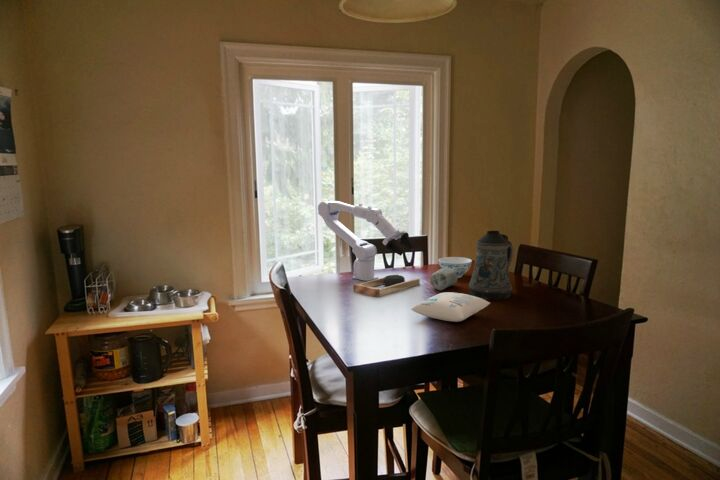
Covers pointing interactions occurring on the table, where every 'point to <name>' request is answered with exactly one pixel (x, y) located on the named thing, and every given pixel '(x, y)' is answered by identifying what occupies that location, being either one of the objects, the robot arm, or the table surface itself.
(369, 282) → the guide track
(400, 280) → the smart speaker
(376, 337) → the table surface
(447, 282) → the streaked ceramic egg
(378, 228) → the robot arm
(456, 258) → the chinaware
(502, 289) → the beer stein
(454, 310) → the pouch
